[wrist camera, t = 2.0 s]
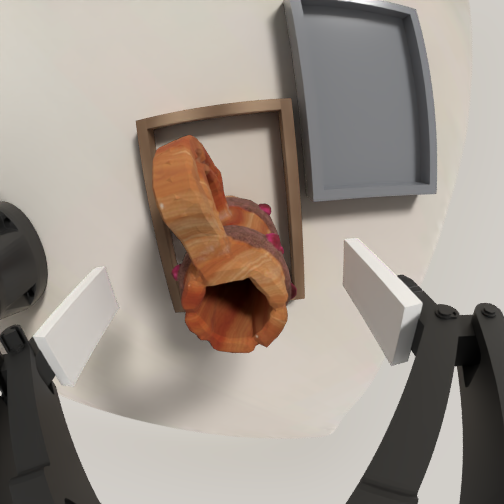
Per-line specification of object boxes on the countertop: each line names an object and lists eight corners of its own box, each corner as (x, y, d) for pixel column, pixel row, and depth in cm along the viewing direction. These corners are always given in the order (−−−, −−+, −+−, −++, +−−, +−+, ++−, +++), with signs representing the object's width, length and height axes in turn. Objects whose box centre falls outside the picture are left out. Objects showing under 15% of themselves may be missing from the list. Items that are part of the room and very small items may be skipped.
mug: (287, 260, 30) (323, 358, 16) (215, 283, 31) (201, 390, 17) (240, 124, 25) (242, 105, 11) (160, 155, 26) (83, 177, 12)
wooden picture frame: (178, 302, 32) (175, 312, 30) (142, 121, 24) (135, 120, 22) (301, 289, 32) (304, 298, 30) (287, 101, 24) (291, 98, 22)
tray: (306, 195, 28) (313, 201, 25) (282, 1, 20) (287, -11, 17) (421, 188, 28) (436, 193, 25) (402, 16, 20) (415, 9, 17)
